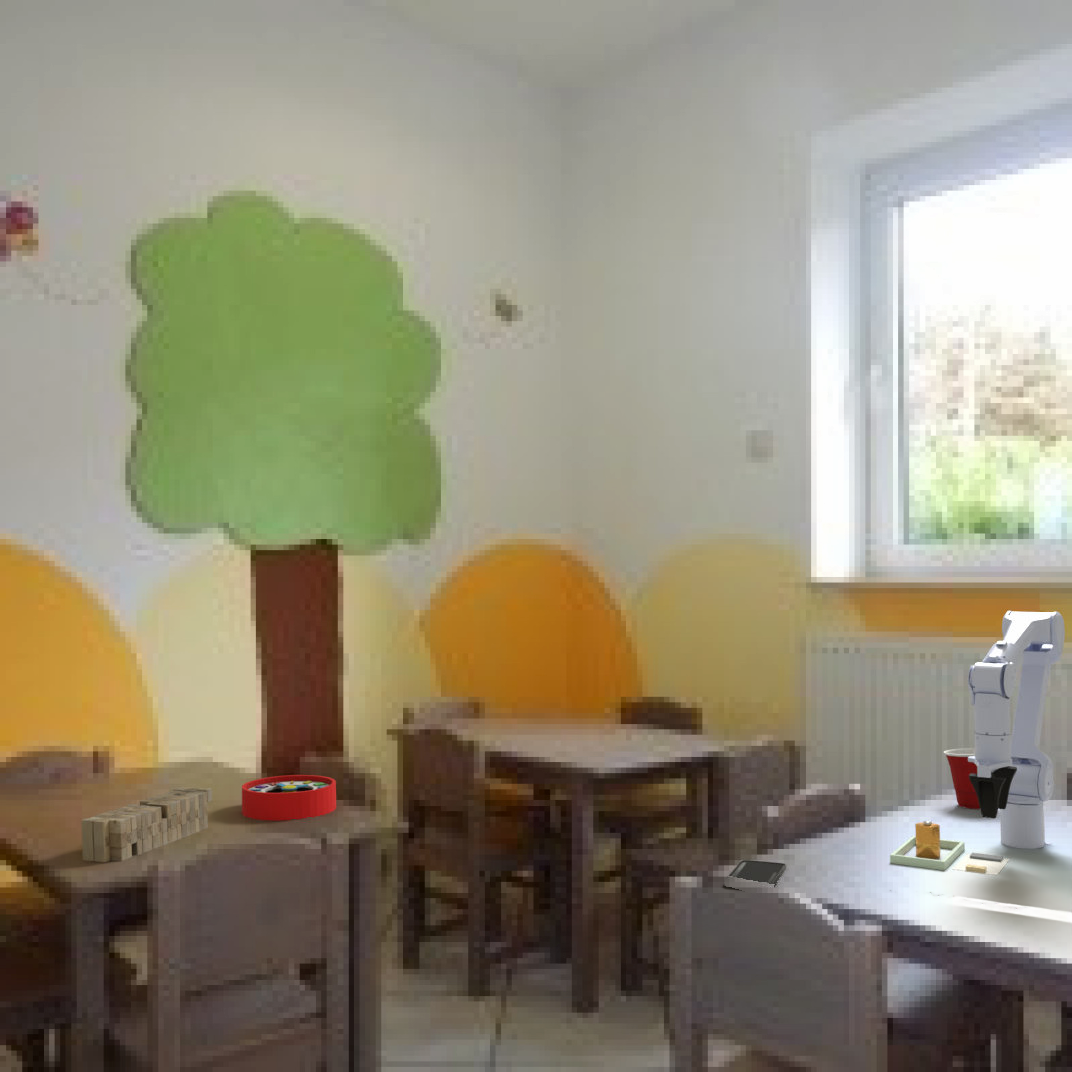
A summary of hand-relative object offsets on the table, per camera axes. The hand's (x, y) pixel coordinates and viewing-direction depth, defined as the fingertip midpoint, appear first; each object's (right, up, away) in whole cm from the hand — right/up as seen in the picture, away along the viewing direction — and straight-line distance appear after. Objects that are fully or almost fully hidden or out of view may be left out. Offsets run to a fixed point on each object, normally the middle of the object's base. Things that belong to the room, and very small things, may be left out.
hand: (994, 812), depth 193 cm
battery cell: (-10, -9, +4) cm, 14 cm away
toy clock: (-132, -13, +52) cm, 142 cm away
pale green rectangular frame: (-10, -10, +4) cm, 14 cm away
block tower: (-153, -12, +26) cm, 155 cm away
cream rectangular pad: (-3, -9, -2) cm, 10 cm away
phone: (-41, -10, -4) cm, 43 cm away
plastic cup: (+14, -10, +47) cm, 50 cm away
